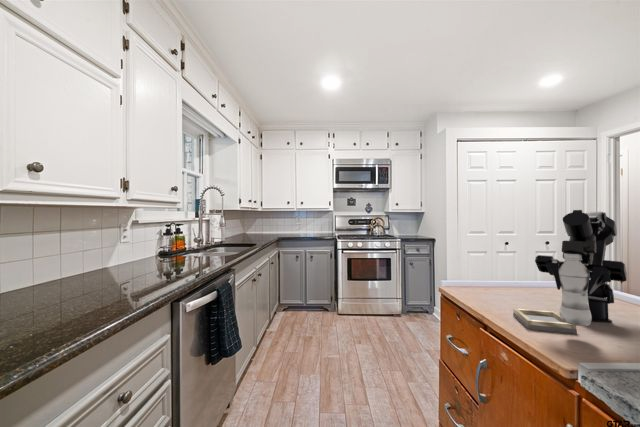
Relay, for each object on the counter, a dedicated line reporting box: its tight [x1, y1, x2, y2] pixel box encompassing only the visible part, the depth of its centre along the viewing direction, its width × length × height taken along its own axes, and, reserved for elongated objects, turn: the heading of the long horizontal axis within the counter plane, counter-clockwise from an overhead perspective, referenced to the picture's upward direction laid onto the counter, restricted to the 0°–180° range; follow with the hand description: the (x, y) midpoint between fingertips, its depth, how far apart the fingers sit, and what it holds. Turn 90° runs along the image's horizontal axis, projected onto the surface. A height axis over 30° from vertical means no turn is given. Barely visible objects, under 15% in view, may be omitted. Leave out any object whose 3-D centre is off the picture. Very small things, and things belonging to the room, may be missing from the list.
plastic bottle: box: [558, 253, 592, 327], centre depth 75 cm, size 6×7×20 cm
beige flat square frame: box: [512, 308, 578, 334], centre depth 85 cm, size 12×12×2 cm
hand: (573, 291), depth 75 cm, fingers closed on plastic bottle, 6 cm apart
